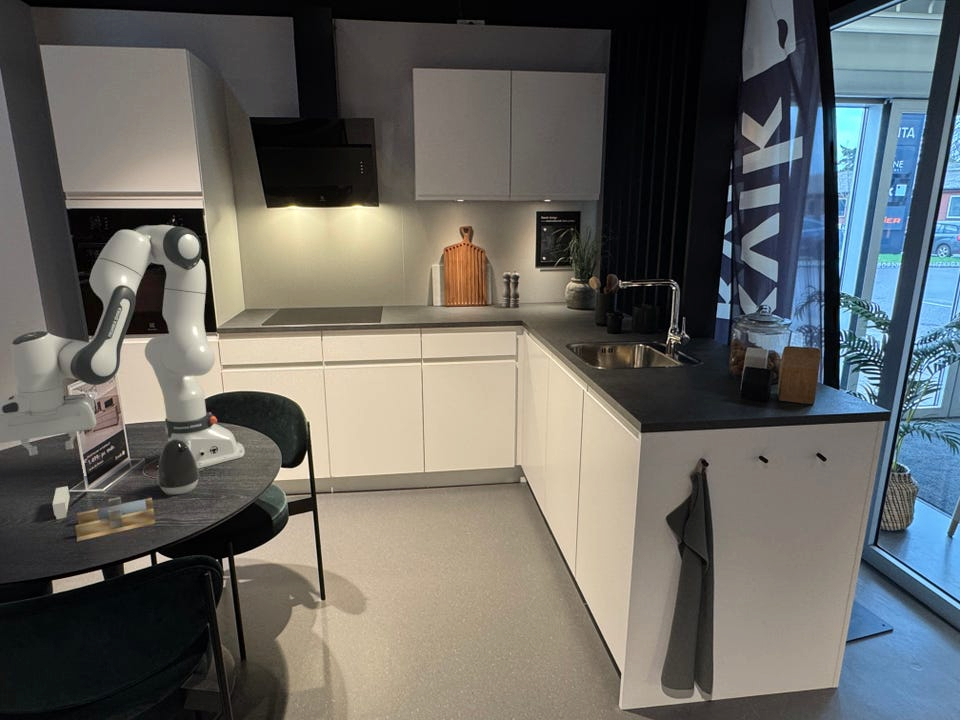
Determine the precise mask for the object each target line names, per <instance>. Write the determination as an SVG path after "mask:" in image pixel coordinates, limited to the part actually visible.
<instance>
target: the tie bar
mask: <svg viewBox="0 0 960 720" xmlns="http://www.w3.org/2000/svg"><path fill="white" fill-rule="evenodd" d="M69 502H70V491H69V486H68V485H67V486H62V487H56V488H55V491H54V496H53V501H52V508H53V514H54V516H55V518H56V520H60V519H64V518H67V514H68V508H69Z"/></svg>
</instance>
